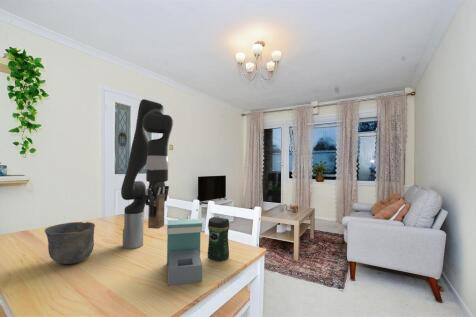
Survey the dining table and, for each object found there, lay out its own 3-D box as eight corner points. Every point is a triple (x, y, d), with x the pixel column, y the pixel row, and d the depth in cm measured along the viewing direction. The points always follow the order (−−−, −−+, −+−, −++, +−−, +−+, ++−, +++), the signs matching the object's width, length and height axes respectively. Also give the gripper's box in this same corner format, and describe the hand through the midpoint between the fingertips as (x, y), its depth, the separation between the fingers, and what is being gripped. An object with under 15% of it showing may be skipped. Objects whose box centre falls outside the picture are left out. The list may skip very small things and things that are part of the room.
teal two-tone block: (166, 271, 92) (167, 225, 92) (167, 263, 99) (167, 220, 99) (201, 267, 95) (202, 223, 95) (199, 260, 102) (200, 218, 103)
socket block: (168, 285, 81) (168, 268, 81) (169, 265, 97) (169, 251, 97) (201, 281, 84) (202, 265, 84) (197, 262, 100) (198, 248, 100)
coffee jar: (231, 257, 106) (232, 217, 106) (222, 264, 99) (223, 221, 99) (214, 253, 110) (215, 214, 111) (204, 259, 104) (205, 218, 104)
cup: (36, 275, 87) (38, 235, 87) (49, 257, 102) (50, 224, 103) (92, 266, 95) (93, 229, 95) (96, 250, 111) (96, 220, 111)
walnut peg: (148, 228, 82) (148, 194, 82) (154, 225, 86) (154, 193, 86) (158, 228, 81) (159, 194, 81) (164, 225, 85) (164, 193, 85)
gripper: (158, 167, 91) (157, 210, 91) (136, 168, 77) (134, 219, 77) (175, 168, 90) (175, 211, 90) (156, 169, 76) (155, 220, 76)
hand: (156, 215), depth 83 cm, fingers closed on walnut peg, 4 cm apart
